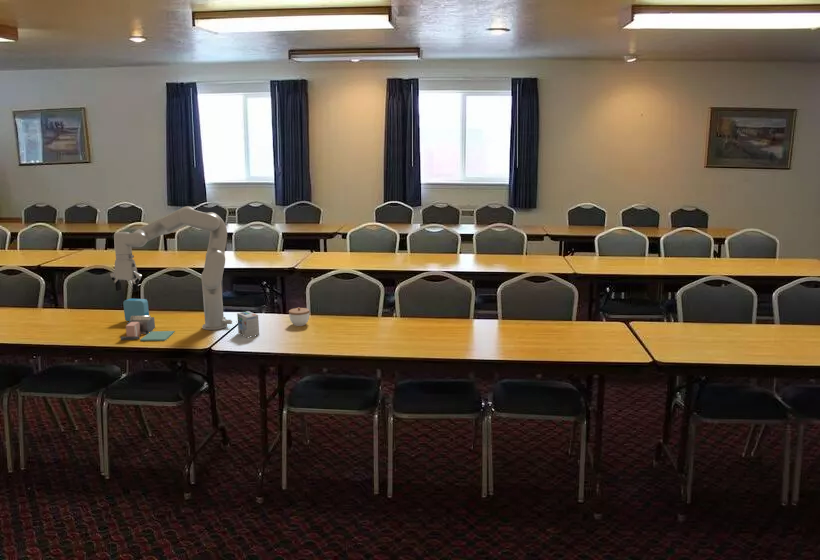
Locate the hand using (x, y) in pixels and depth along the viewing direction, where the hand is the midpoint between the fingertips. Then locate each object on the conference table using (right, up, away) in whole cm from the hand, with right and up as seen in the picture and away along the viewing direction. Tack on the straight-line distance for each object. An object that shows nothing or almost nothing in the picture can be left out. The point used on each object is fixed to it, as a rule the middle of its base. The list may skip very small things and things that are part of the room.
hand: (127, 290), depth 328 cm
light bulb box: (+60, -22, +4) cm, 64 cm away
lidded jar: (+83, -18, +20) cm, 87 cm away
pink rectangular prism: (+3, -23, +1) cm, 23 cm away
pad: (+15, -23, +1) cm, 27 cm away
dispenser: (+3, -22, +6) cm, 23 cm away
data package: (-7, -17, +30) cm, 36 cm away
